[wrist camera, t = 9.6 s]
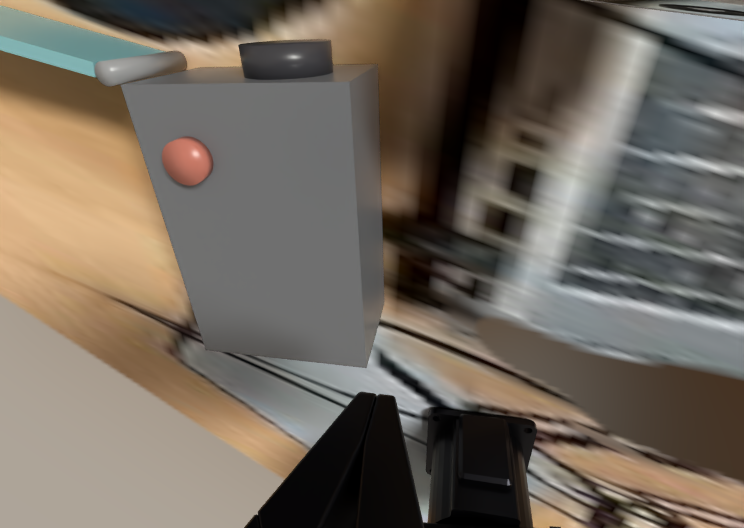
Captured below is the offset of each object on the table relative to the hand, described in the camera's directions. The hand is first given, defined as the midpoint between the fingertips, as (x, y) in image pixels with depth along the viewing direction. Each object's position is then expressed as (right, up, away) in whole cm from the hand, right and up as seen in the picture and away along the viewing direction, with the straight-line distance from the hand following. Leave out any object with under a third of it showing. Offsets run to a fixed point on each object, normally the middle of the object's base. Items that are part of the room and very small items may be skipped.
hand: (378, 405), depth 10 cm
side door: (-14, +14, +9) cm, 21 cm away
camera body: (-4, +6, +11) cm, 13 cm away
